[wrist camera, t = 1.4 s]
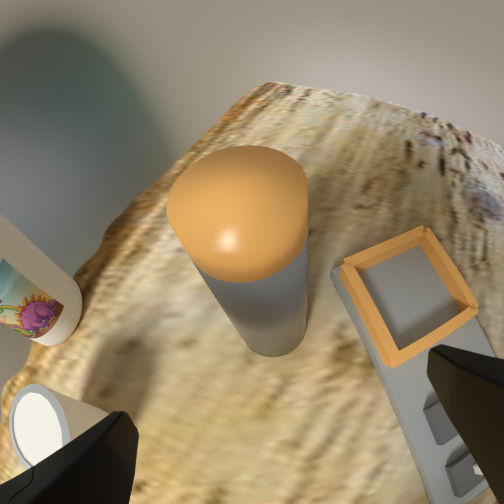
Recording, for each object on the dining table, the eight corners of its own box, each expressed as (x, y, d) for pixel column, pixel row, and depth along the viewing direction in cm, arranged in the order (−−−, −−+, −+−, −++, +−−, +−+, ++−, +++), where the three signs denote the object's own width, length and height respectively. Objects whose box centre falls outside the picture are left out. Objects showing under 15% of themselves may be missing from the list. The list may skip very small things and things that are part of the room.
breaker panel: (519, 448, 11) (550, 446, 8) (434, 517, 11) (459, 531, 7) (417, 238, 23) (431, 207, 20) (330, 276, 23) (334, 247, 19)
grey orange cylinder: (316, 342, 20) (335, 216, 8) (253, 366, 20) (179, 274, 8) (291, 286, 23) (275, 132, 11) (233, 308, 23) (160, 172, 11)
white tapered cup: (118, 393, 20) (60, 376, 14) (138, 474, 16) (81, 483, 10) (61, 404, 20) (3, 388, 14) (76, 476, 16) (17, 476, 10)
